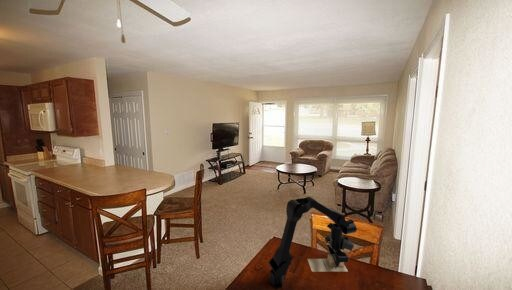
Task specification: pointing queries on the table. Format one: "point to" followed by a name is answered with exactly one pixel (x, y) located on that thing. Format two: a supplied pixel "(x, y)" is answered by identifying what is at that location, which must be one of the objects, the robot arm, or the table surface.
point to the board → (323, 266)
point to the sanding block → (331, 261)
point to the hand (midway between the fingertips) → (335, 263)
